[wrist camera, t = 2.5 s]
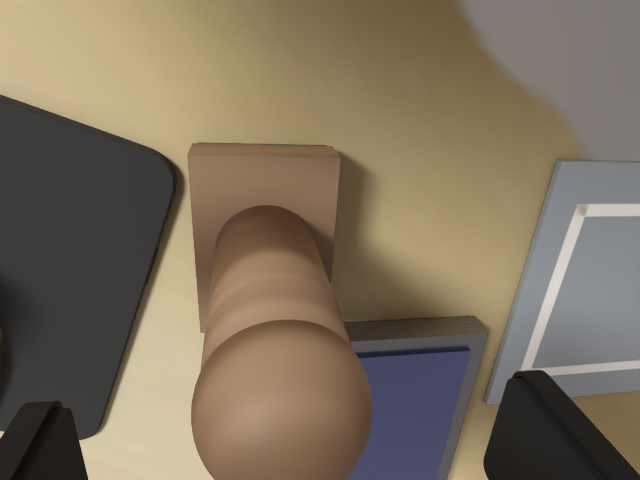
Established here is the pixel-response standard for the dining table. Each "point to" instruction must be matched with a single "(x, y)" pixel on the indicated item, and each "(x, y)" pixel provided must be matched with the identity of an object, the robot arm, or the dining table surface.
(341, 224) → the dining table surface
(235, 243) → the stamp
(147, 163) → the phone
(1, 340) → the brass ornament
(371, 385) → the ink pad
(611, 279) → the stamp card
